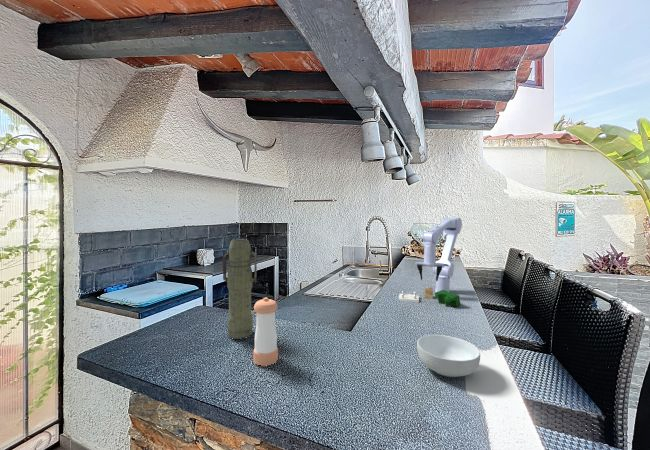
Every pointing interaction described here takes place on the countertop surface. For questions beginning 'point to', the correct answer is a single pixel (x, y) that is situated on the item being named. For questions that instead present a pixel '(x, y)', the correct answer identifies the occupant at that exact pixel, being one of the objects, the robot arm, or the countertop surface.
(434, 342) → the cereal bowl
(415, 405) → the countertop surface
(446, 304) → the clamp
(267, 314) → the pepper shaker
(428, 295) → the block
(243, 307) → the thermos
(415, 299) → the plate
